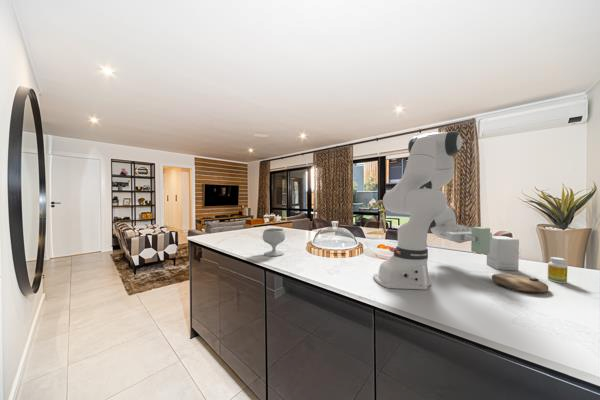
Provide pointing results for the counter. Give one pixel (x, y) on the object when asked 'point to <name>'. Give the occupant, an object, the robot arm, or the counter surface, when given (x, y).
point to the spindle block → (481, 240)
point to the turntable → (520, 282)
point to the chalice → (274, 240)
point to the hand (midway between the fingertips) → (482, 239)
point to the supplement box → (503, 253)
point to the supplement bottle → (557, 270)
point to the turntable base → (519, 290)
